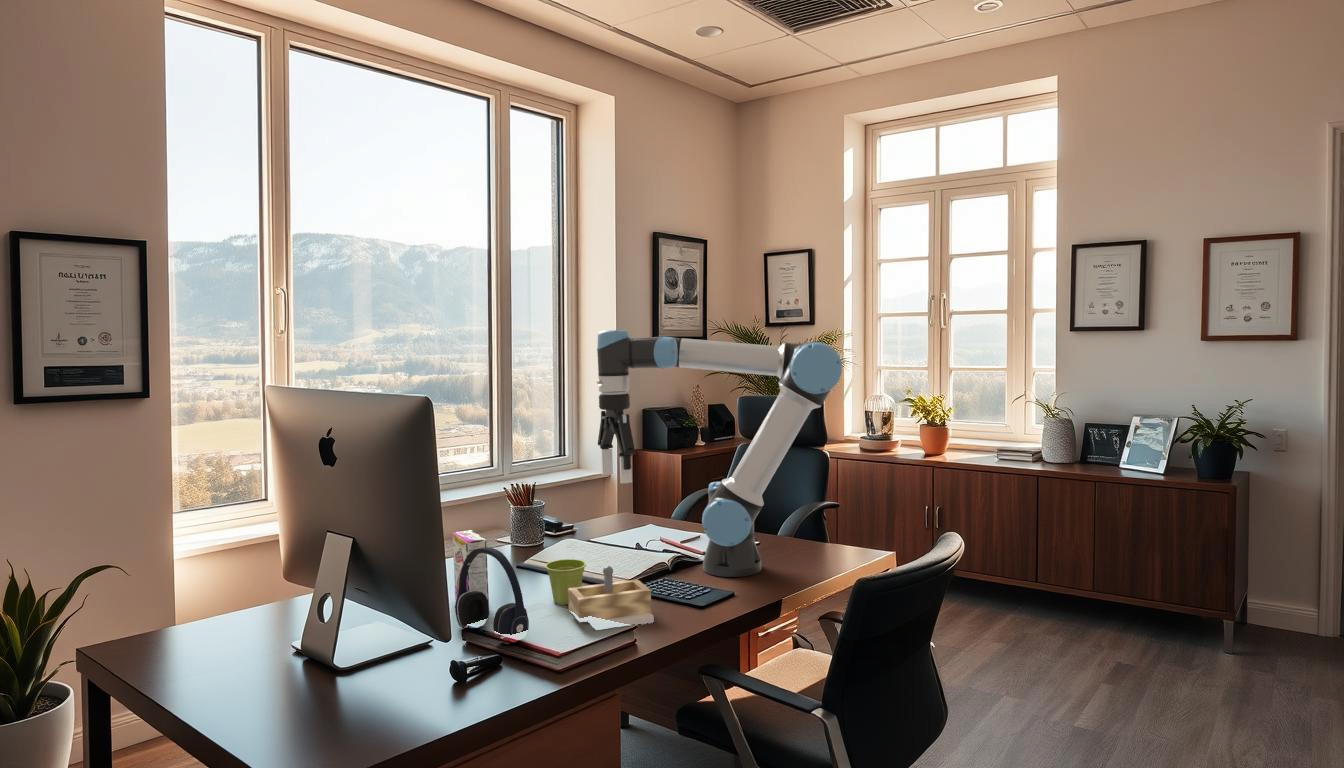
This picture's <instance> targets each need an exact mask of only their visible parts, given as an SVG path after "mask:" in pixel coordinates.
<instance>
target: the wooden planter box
mask: <svg viewBox="0 0 1344 768" xmlns="http://www.w3.org/2000/svg"><path fill="white" fill-rule="evenodd" d="M612 582H613V593H609V594H604V583H599V584H598V583H597V584H590V585H583V586H582V585H581V587H574V588H568V600H569V604H568V611H569V610H570V611H572V612H574V613H575V614H576V615H577V616H578V617H579V618H584V617H588V616H592V617H596V618H601V619H612V618H619V617H626V616H633V615H640V614H647V613H651V614H652V590H651V589H650V588H648V587H647V586H646V585H645V584H644V583H643V582H642V581H641V580H639V579H638V578H636V579H630V580H629V579H628V580H623V581H622V580H621V581H612ZM570 611H569V612H570Z"/></svg>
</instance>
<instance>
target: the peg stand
mask: <svg viewBox="0 0 1344 768" xmlns="http://www.w3.org/2000/svg"><path fill="white" fill-rule="evenodd" d="M602 573H603V582H604V583H603V584H604V594H609V593H613V582H614V581H613V574H614V569H613V567H612V566H610V565H606V566H604V568H603V570H602ZM605 620H610V621H614V622H619V623H624V624H635V625H634V626H639V625H638V624H641V625H647V623H648V624H653V622H655V619H654V615H653V614H652V612H651V613H647V614H640V615H633V616H626V617H619V618H612V619H605Z"/></svg>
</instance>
